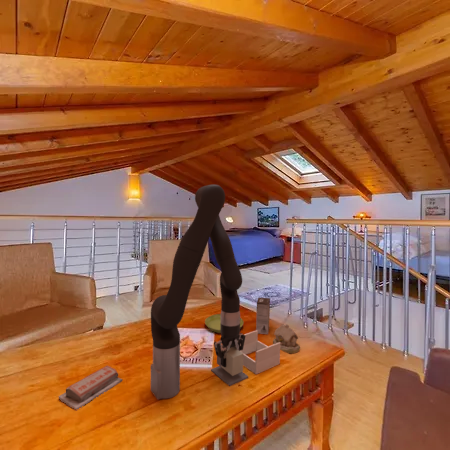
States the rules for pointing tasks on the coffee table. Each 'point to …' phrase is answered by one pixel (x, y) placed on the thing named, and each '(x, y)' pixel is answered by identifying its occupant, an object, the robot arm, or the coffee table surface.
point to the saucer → (216, 322)
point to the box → (232, 361)
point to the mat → (229, 376)
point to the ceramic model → (286, 339)
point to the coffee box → (263, 315)
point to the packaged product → (90, 387)
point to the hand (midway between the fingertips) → (229, 363)
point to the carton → (259, 353)
